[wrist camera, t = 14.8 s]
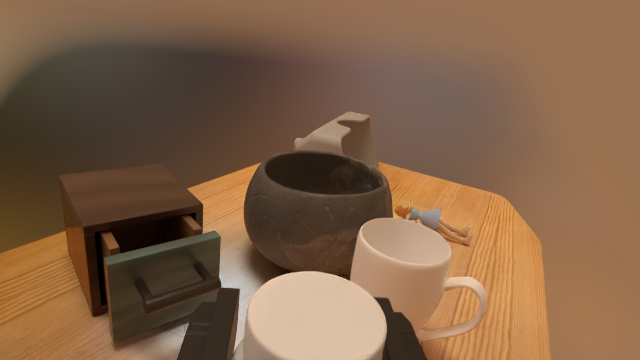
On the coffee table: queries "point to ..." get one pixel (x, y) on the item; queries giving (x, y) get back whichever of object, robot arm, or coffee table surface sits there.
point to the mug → (410, 272)
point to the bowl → (313, 208)
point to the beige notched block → (344, 138)
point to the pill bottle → (312, 320)
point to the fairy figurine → (433, 222)
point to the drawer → (156, 272)
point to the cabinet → (116, 213)
